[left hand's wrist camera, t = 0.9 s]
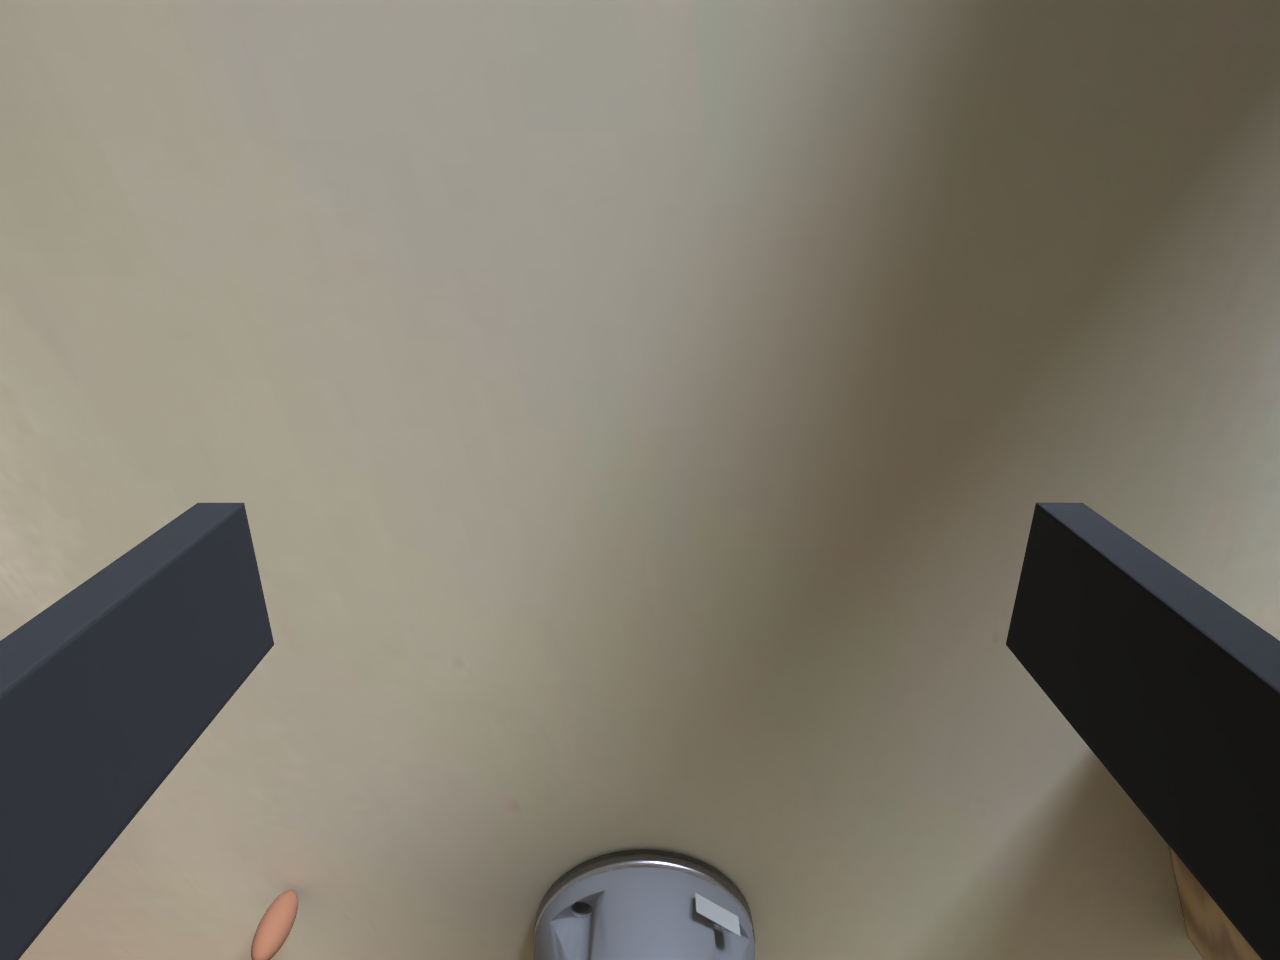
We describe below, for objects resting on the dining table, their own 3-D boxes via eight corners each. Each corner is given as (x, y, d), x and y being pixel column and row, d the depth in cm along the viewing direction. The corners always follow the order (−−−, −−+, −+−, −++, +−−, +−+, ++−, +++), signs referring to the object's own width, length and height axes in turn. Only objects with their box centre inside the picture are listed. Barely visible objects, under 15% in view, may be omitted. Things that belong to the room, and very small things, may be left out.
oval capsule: (312, 891, 51) (279, 962, 46) (297, 906, 51) (262, 978, 47) (287, 877, 50) (251, 947, 46) (272, 892, 51) (234, 964, 46)
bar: (1258, 919, 52) (1371, 1054, 44) (1187, 937, 52) (1285, 1074, 44) (1219, 666, 44) (1348, 775, 36) (1135, 692, 44) (1244, 805, 36)
